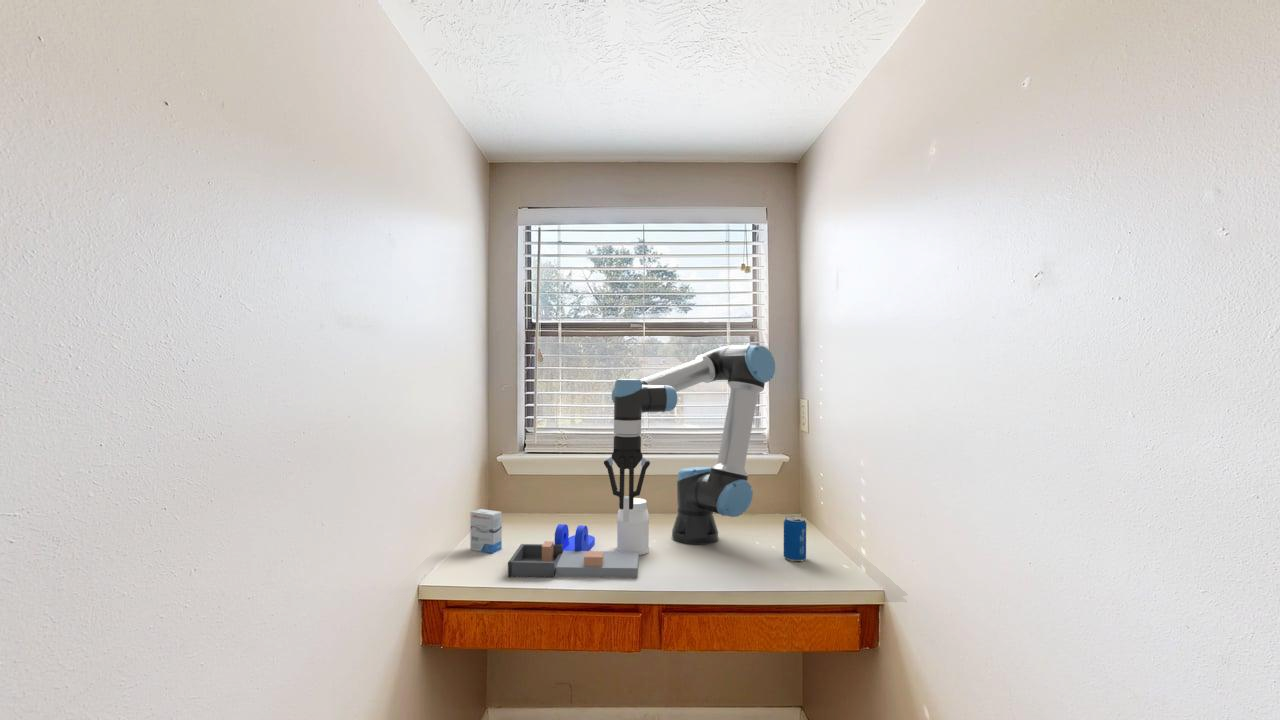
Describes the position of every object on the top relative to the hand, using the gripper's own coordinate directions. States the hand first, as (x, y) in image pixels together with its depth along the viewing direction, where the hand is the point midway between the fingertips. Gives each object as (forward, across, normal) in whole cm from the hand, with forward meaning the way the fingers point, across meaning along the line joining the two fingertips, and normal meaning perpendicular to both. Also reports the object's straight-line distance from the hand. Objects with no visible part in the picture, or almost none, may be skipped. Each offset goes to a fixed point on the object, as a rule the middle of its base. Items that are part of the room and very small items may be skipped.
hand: (626, 520), depth 166 cm
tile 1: (+11, +21, -7) cm, 25 cm away
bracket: (+15, +16, -20) cm, 30 cm away
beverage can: (+14, -49, -14) cm, 53 cm away
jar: (+14, -1, -21) cm, 25 cm away
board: (+14, +8, -4) cm, 17 cm away
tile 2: (+12, +9, 0) cm, 15 cm away
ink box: (+15, +44, -19) cm, 50 cm away
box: (+15, +25, -4) cm, 29 cm away
